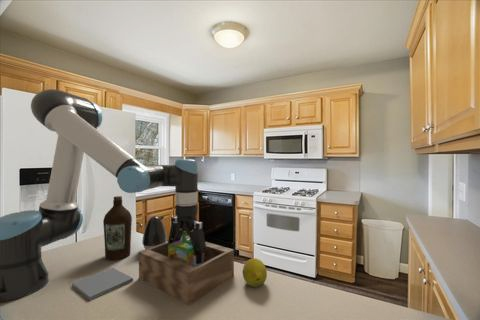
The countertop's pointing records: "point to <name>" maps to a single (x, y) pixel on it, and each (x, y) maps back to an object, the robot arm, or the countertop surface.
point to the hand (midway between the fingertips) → (186, 268)
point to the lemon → (254, 272)
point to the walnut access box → (186, 271)
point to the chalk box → (183, 250)
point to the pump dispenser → (154, 233)
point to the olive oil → (117, 231)
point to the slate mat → (101, 283)
